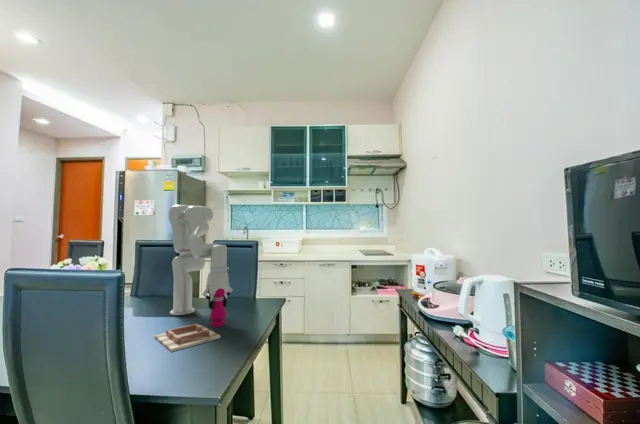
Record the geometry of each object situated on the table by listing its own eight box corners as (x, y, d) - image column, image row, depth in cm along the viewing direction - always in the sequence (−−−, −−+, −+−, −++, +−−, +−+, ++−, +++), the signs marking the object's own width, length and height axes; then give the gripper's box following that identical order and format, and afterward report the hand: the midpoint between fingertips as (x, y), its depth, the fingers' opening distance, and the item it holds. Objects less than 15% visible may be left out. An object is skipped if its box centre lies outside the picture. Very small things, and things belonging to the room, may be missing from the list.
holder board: (154, 337, 130) (154, 330, 130) (201, 327, 144) (201, 320, 144) (170, 351, 115) (171, 343, 116) (220, 338, 129) (220, 330, 129)
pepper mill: (220, 328, 142) (221, 285, 143) (206, 327, 144) (207, 284, 144) (228, 323, 149) (228, 282, 150) (215, 322, 151) (215, 281, 152)
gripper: (230, 267, 156) (230, 302, 156) (197, 271, 144) (196, 309, 144) (238, 269, 151) (237, 305, 150) (204, 273, 139) (203, 312, 138)
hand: (217, 307), depth 147 cm, fingers open, 5 cm apart
